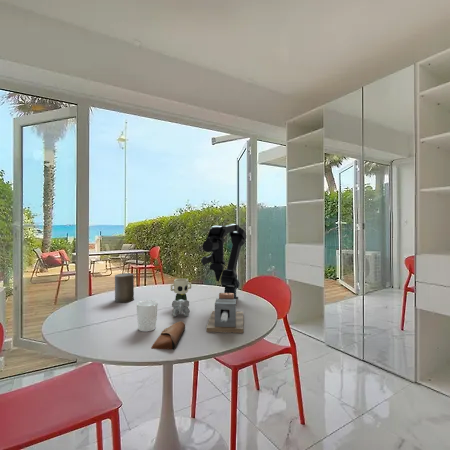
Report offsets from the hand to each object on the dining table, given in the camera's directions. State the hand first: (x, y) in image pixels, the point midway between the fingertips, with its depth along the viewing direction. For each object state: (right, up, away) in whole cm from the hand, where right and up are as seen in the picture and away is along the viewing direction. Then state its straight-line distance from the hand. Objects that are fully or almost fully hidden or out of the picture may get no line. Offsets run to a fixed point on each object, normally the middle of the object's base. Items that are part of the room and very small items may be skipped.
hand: (217, 281), depth 142 cm
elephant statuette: (-16, -12, -18) cm, 27 cm away
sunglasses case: (-16, -13, -42) cm, 47 cm away
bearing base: (+4, -12, -26) cm, 29 cm away
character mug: (-18, -12, -2) cm, 22 cm away
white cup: (-27, -12, -32) cm, 44 cm away
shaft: (+4, -10, -33) cm, 34 cm away
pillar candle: (-50, -12, +8) cm, 52 cm away
